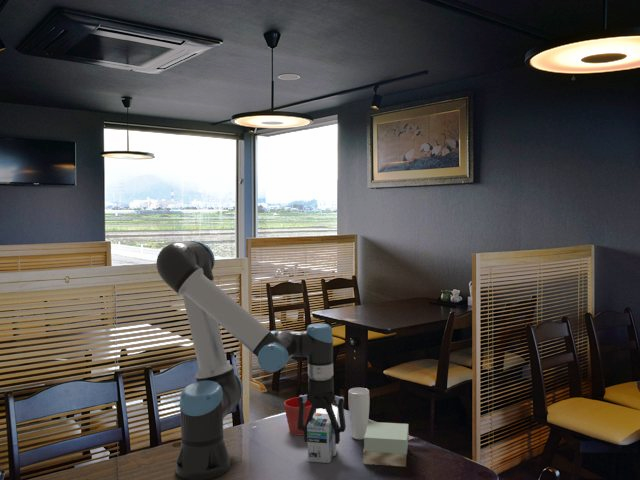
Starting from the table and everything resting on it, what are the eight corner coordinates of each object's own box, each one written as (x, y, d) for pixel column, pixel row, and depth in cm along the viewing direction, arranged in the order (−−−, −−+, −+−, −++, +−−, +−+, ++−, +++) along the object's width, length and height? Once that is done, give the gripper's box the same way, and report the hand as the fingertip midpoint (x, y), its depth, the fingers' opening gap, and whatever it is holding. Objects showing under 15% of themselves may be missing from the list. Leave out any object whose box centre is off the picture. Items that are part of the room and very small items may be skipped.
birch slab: (363, 465, 157) (363, 451, 157) (367, 447, 169) (367, 434, 168) (405, 467, 155) (405, 454, 155) (406, 449, 166) (406, 436, 166)
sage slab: (364, 451, 157) (364, 437, 157) (369, 434, 169) (368, 421, 168) (406, 454, 154) (406, 440, 154) (408, 436, 166) (408, 424, 166)
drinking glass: (373, 435, 177) (373, 389, 176) (363, 442, 171) (363, 395, 170) (355, 431, 180) (354, 386, 180) (345, 438, 175) (344, 392, 174)
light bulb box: (330, 463, 157) (329, 426, 157) (307, 462, 158) (306, 425, 158) (336, 448, 168) (335, 413, 167) (314, 446, 169) (314, 412, 168)
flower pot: (288, 423, 188) (287, 395, 187) (319, 425, 186) (319, 396, 186) (281, 436, 177) (280, 406, 177) (315, 437, 176) (314, 408, 175)
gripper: (285, 379, 160) (286, 456, 161) (352, 381, 156) (353, 460, 158) (291, 372, 167) (292, 446, 168) (355, 374, 164) (356, 449, 165)
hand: (322, 453), depth 163 cm, fingers closed on light bulb box, 7 cm apart
